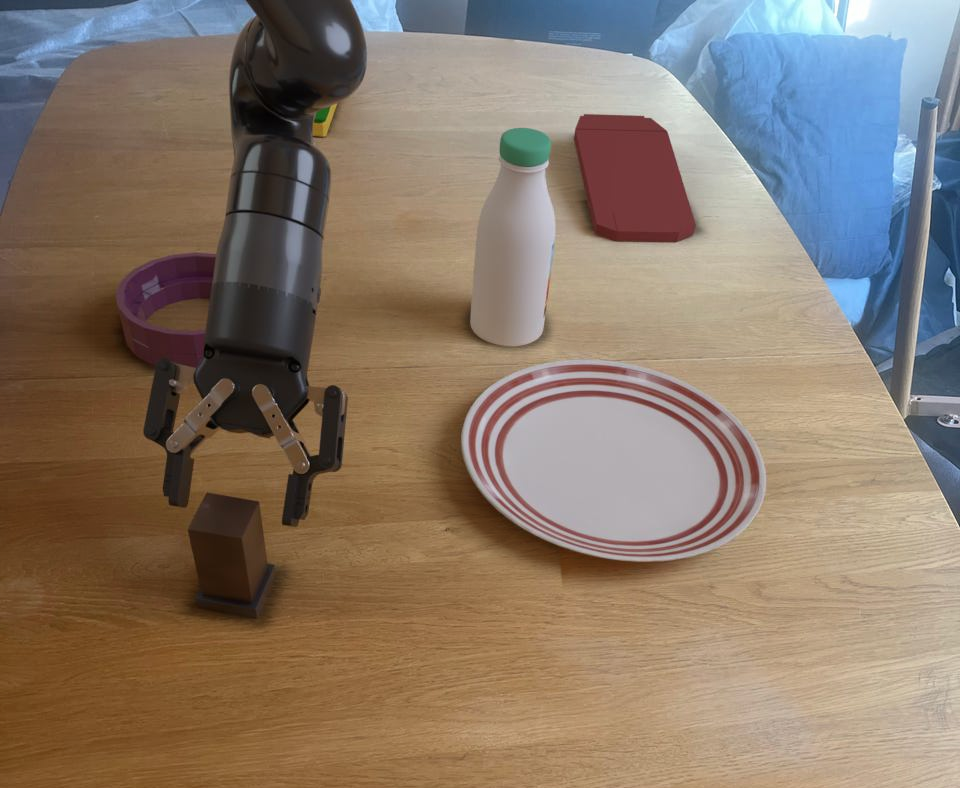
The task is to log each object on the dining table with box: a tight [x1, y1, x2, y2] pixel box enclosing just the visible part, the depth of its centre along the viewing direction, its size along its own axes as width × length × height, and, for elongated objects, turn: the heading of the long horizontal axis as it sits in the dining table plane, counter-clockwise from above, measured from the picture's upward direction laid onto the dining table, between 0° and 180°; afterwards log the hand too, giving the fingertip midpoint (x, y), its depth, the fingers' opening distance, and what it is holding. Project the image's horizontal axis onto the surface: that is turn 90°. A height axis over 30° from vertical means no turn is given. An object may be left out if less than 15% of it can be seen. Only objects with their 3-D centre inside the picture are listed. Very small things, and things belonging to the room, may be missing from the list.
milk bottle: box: [469, 127, 556, 347], centre depth 97 cm, size 8×8×20 cm
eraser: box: [187, 491, 277, 620], centre depth 75 cm, size 5×5×9 cm
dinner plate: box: [460, 358, 767, 563], centre depth 90 cm, size 28×27×3 cm
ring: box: [115, 252, 216, 368], centre depth 98 cm, size 14×14×5 cm
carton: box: [573, 113, 697, 243], centre depth 126 cm, size 12×5×25 cm
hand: (233, 516), depth 73 cm, fingers open, 8 cm apart
